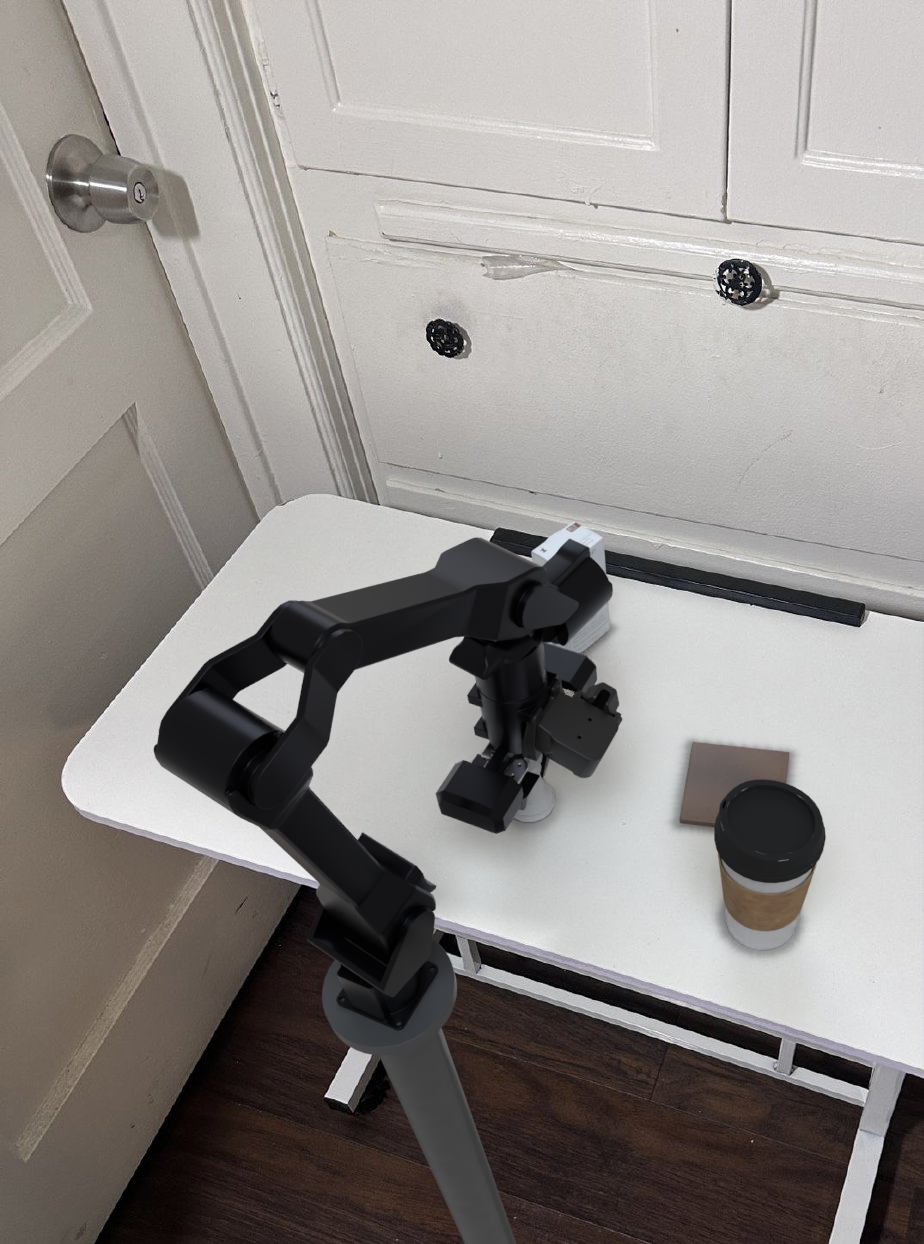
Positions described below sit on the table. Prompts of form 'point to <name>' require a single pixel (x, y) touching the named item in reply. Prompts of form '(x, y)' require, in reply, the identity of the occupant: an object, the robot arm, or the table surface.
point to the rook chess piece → (537, 797)
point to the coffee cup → (766, 859)
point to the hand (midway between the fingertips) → (528, 792)
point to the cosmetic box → (596, 545)
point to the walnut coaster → (724, 777)
